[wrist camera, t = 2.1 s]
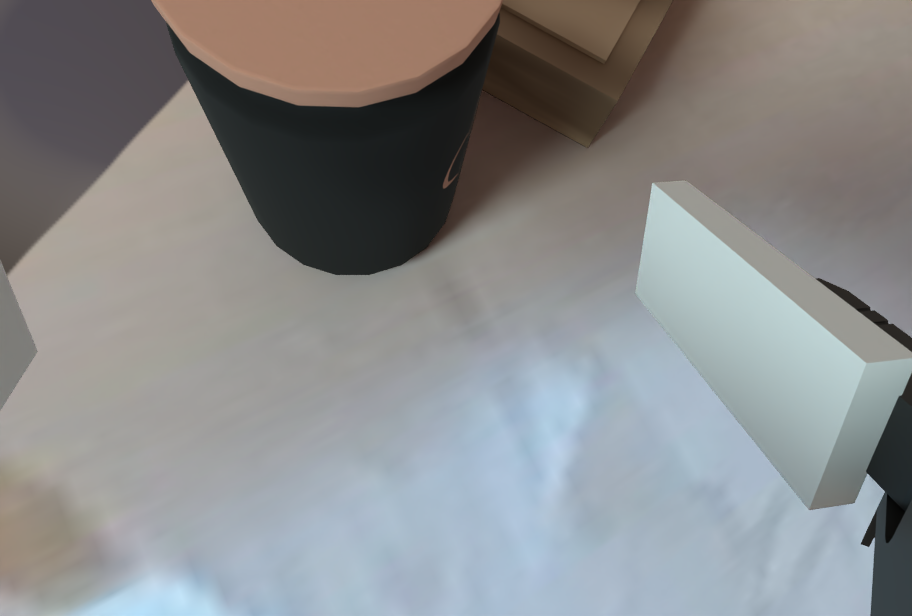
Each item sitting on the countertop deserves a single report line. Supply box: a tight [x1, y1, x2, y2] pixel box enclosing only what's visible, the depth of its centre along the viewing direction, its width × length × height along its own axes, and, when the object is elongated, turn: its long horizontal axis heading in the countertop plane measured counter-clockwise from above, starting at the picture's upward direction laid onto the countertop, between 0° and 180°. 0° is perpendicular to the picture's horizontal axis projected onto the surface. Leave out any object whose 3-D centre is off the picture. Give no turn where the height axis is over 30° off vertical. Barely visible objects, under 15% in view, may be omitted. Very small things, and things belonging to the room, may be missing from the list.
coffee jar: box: [151, 0, 503, 275], centre depth 27 cm, size 11×11×18 cm
